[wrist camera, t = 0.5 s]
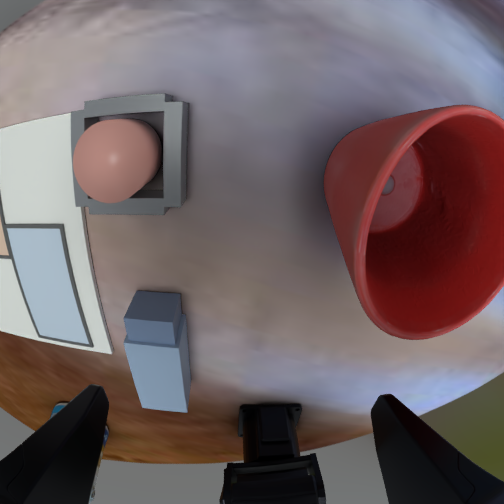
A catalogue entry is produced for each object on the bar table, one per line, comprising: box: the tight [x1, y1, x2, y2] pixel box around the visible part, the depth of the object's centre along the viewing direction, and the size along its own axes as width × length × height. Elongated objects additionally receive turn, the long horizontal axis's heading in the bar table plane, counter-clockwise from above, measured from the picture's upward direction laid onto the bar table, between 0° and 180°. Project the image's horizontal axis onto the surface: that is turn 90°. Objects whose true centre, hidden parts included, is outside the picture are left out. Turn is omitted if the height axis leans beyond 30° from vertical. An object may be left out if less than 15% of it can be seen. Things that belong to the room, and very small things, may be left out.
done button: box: [73, 118, 162, 203], centre depth 15 cm, size 4×4×3 cm
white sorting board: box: [0, 113, 114, 354], centre depth 19 cm, size 20×16×1 cm
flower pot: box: [324, 105, 504, 340], centre depth 14 cm, size 11×11×10 cm
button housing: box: [71, 94, 189, 215], centre depth 16 cm, size 7×7×2 cm
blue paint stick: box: [124, 291, 191, 413], centre depth 22 cm, size 10×4×4 cm, turn 176°
